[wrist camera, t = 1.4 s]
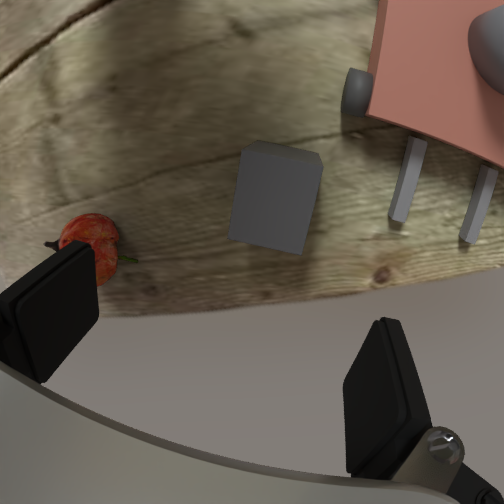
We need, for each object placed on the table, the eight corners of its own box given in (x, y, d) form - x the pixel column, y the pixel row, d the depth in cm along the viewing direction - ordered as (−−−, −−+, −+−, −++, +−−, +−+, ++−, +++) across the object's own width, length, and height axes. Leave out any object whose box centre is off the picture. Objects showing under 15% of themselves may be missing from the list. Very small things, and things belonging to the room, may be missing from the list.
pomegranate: (152, 215, 32) (63, 183, 25) (157, 275, 28) (50, 246, 21) (121, 255, 36) (42, 232, 29) (123, 312, 31) (33, 292, 25)
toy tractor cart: (366, -53, 16) (386, -105, 8) (553, 42, 15) (608, 38, 7) (319, 196, 26) (326, 235, 18) (509, 252, 25) (556, 297, 17)
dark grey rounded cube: (257, 140, 25) (242, 149, 19) (318, 153, 25) (323, 166, 19) (245, 208, 28) (227, 238, 22) (302, 221, 28) (301, 255, 21)
